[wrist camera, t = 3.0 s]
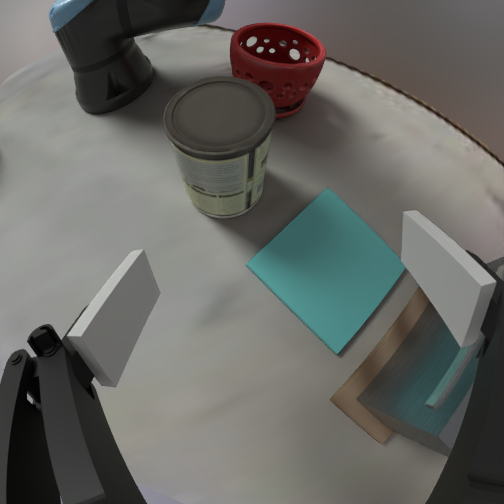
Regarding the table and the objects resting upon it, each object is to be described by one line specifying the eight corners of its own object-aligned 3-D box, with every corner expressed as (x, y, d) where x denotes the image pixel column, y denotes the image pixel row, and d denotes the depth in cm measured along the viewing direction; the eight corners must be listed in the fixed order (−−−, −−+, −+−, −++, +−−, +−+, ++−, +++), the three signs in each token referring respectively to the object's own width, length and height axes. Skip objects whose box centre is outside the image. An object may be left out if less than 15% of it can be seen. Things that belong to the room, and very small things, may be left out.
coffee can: (184, 156, 38) (166, 82, 25) (258, 149, 39) (267, 73, 25) (186, 223, 35) (159, 161, 22) (268, 216, 36) (285, 149, 23)
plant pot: (285, 140, 40) (299, 79, 28) (213, 103, 41) (209, 44, 30) (323, 96, 43) (341, 43, 31) (259, 66, 45) (264, 13, 33)
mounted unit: (434, 262, 36) (521, 219, 19) (469, 307, 34) (556, 284, 17) (329, 399, 30) (405, 446, 13) (377, 441, 29) (459, 490, 12)
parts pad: (326, 189, 38) (327, 187, 37) (403, 267, 35) (406, 265, 34) (246, 265, 34) (246, 264, 33) (334, 353, 32) (337, 354, 31)
